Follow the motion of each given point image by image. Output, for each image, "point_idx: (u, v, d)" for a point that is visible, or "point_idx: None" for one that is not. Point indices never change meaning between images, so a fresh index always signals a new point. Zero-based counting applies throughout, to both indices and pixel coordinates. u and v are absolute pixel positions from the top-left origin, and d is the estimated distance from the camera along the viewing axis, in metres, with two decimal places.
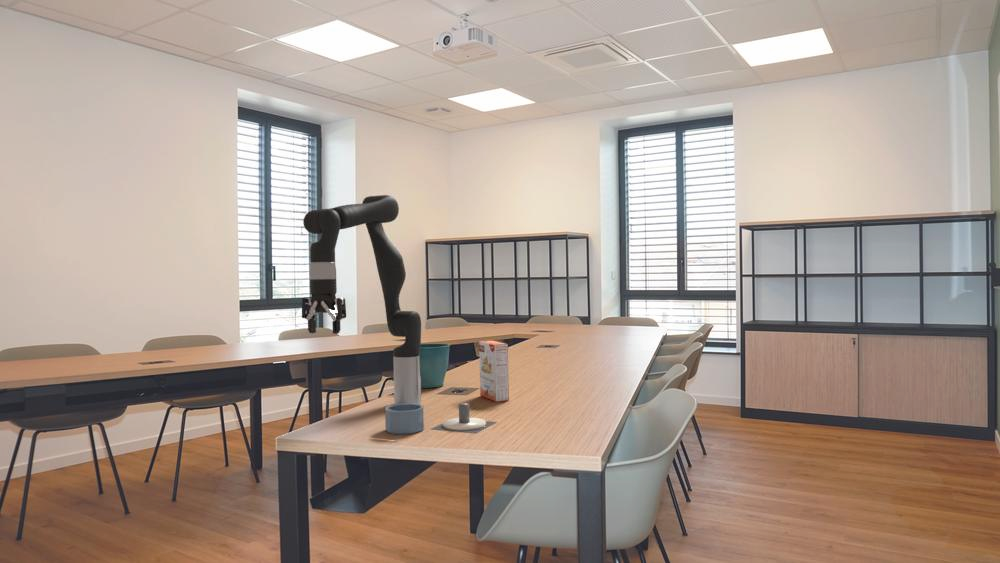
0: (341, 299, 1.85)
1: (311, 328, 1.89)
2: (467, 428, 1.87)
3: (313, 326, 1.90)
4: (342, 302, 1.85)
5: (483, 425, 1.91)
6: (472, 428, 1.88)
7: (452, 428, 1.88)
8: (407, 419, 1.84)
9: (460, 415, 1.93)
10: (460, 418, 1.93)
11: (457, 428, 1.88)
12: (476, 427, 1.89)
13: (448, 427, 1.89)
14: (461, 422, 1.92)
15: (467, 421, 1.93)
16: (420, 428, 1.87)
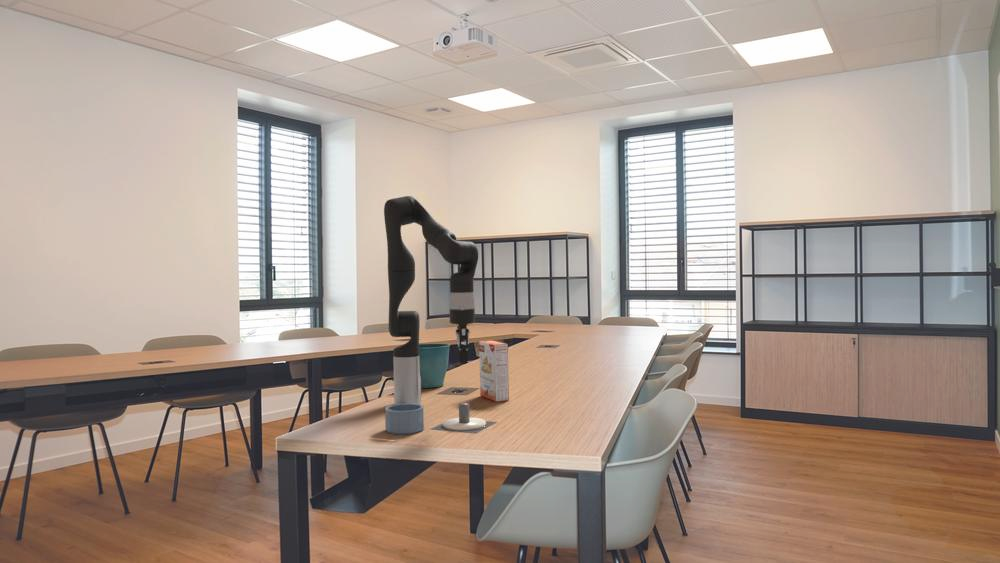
0: None
1: None
2: (467, 428, 1.87)
3: None
4: None
5: (483, 425, 1.91)
6: (472, 428, 1.88)
7: (452, 428, 1.88)
8: (407, 419, 1.84)
9: (460, 415, 1.93)
10: (460, 418, 1.93)
11: (457, 428, 1.88)
12: (476, 427, 1.89)
13: (448, 427, 1.89)
14: (461, 422, 1.92)
15: (467, 421, 1.93)
16: (420, 428, 1.87)
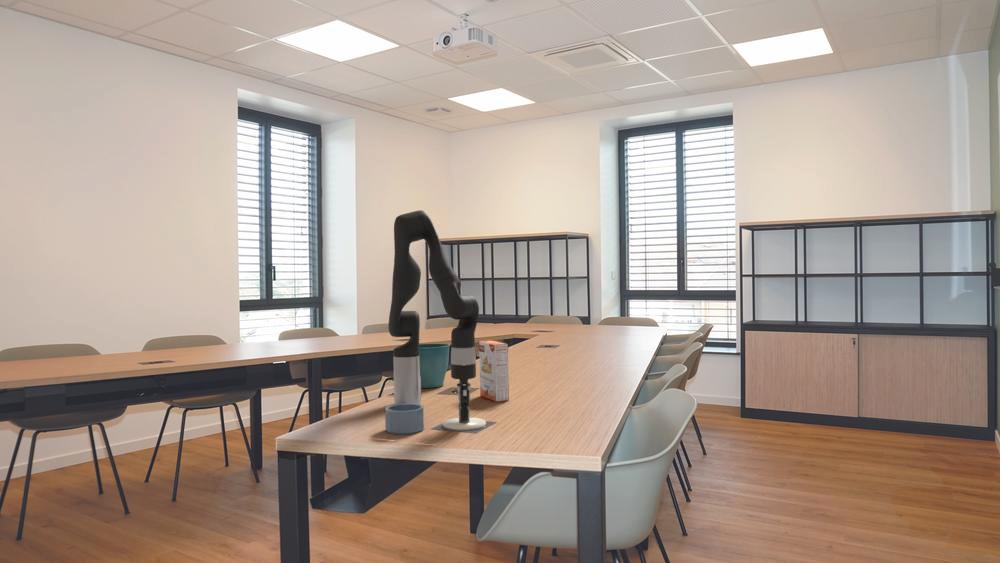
0: None
1: None
2: (467, 427, 1.87)
3: None
4: None
5: (483, 425, 1.91)
6: (472, 428, 1.88)
7: (452, 428, 1.88)
8: (407, 419, 1.84)
9: (460, 415, 1.93)
10: (460, 418, 1.93)
11: (457, 428, 1.88)
12: (476, 427, 1.89)
13: (448, 427, 1.89)
14: (461, 422, 1.92)
15: (467, 421, 1.93)
16: (420, 428, 1.87)
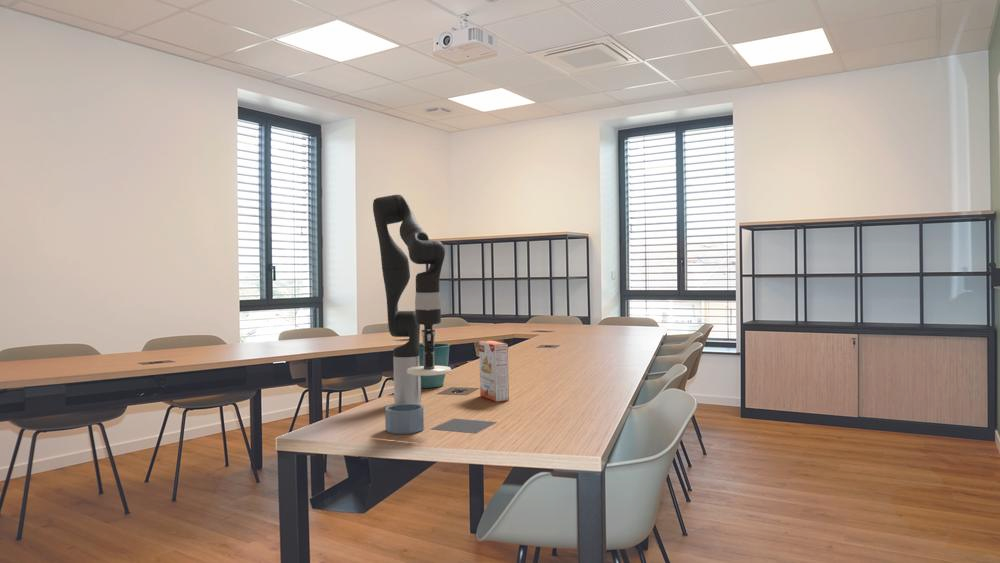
0: None
1: None
2: (431, 372, 1.85)
3: None
4: None
5: (448, 371, 1.89)
6: (437, 373, 1.85)
7: (416, 373, 1.85)
8: (407, 419, 1.84)
9: None
10: None
11: (421, 373, 1.85)
12: (441, 372, 1.86)
13: (412, 372, 1.86)
14: (426, 368, 1.90)
15: (432, 367, 1.90)
16: (420, 428, 1.87)
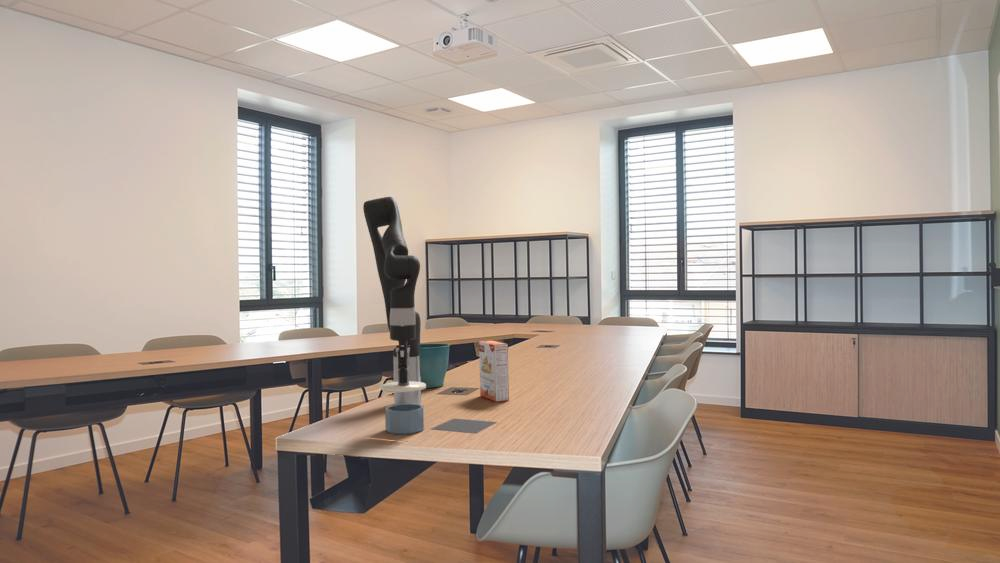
0: None
1: None
2: (404, 389, 1.83)
3: None
4: None
5: (422, 387, 1.87)
6: (410, 390, 1.83)
7: (389, 390, 1.84)
8: (407, 419, 1.84)
9: None
10: None
11: (394, 389, 1.83)
12: (414, 389, 1.84)
13: (385, 389, 1.84)
14: (400, 384, 1.88)
15: (406, 383, 1.88)
16: (420, 428, 1.87)
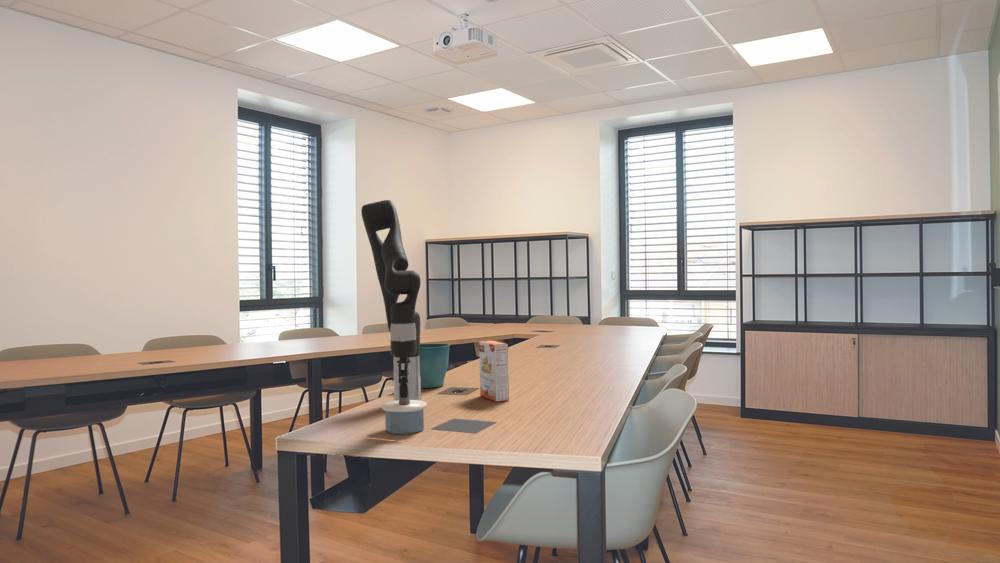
0: None
1: None
2: (405, 409, 1.83)
3: None
4: None
5: (423, 407, 1.87)
6: (411, 409, 1.84)
7: (390, 409, 1.84)
8: (407, 419, 1.84)
9: (400, 397, 1.88)
10: (400, 400, 1.88)
11: (395, 409, 1.83)
12: (415, 408, 1.84)
13: (386, 408, 1.85)
14: (401, 404, 1.88)
15: (407, 403, 1.88)
16: (420, 428, 1.87)
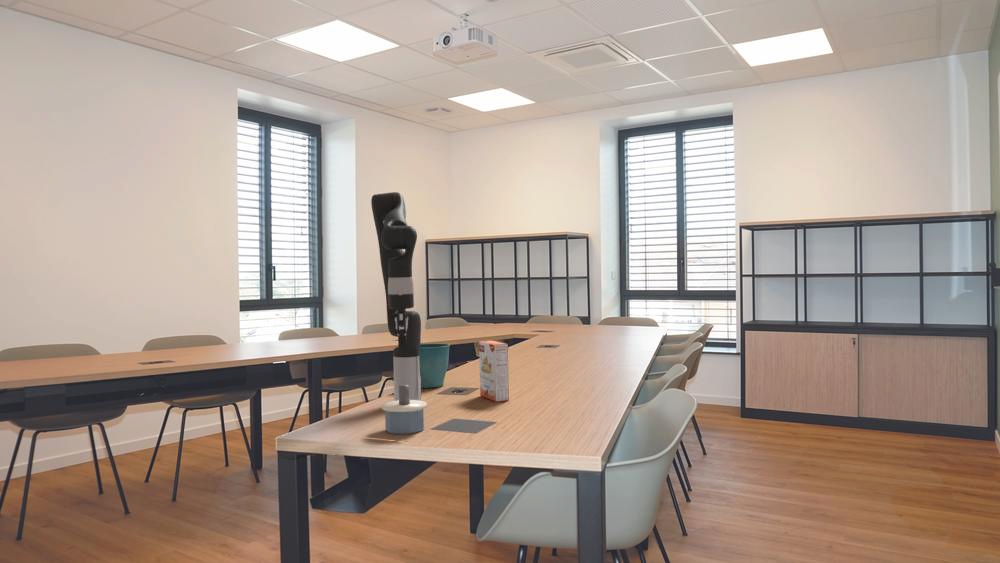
0: None
1: None
2: (405, 409, 1.83)
3: None
4: None
5: (423, 407, 1.87)
6: (411, 409, 1.84)
7: (390, 409, 1.84)
8: (407, 419, 1.84)
9: (400, 397, 1.88)
10: (400, 400, 1.88)
11: (395, 409, 1.83)
12: (415, 408, 1.84)
13: (386, 408, 1.85)
14: (401, 404, 1.88)
15: (407, 403, 1.88)
16: (420, 428, 1.87)
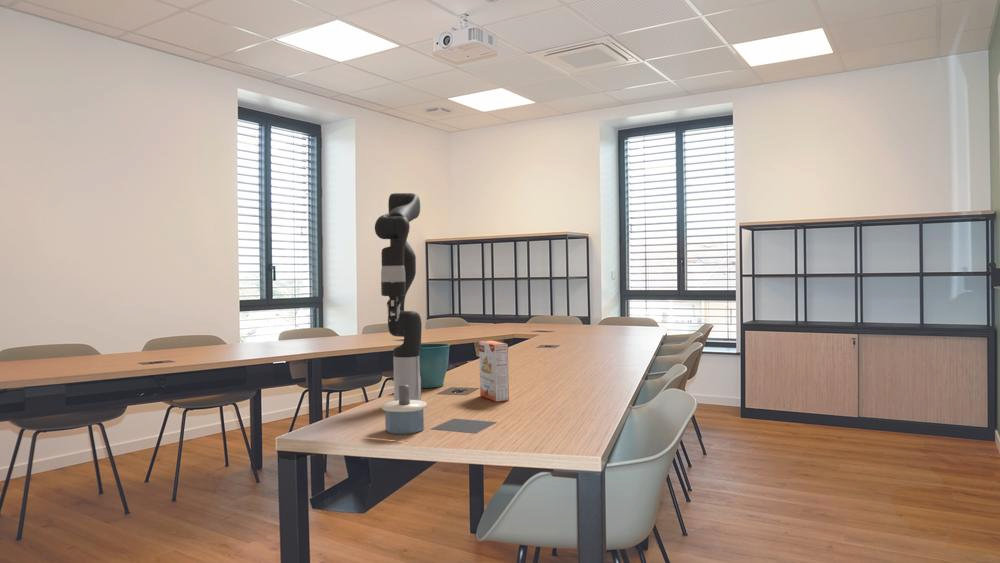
0: None
1: None
2: (405, 409, 1.83)
3: None
4: None
5: (423, 407, 1.87)
6: (411, 409, 1.84)
7: (390, 409, 1.84)
8: (407, 419, 1.84)
9: (400, 397, 1.88)
10: (400, 400, 1.88)
11: (395, 409, 1.83)
12: (415, 408, 1.84)
13: (386, 408, 1.85)
14: (401, 404, 1.88)
15: (407, 403, 1.88)
16: (420, 428, 1.87)
